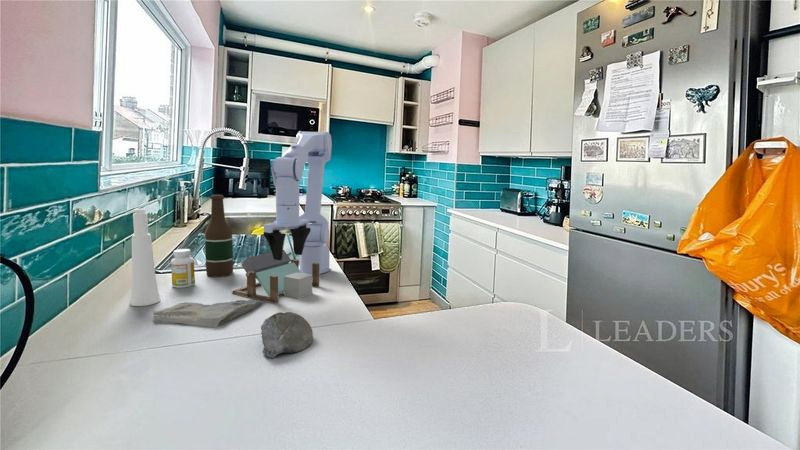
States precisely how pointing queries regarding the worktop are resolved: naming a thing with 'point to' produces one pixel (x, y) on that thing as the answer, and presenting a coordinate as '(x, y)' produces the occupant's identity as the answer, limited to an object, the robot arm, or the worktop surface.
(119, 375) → the worktop surface
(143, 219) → the cosmetic bottle
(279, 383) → the worktop surface
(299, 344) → the fossilized seashell
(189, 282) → the supplement bottle
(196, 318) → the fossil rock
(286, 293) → the stone block
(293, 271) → the trapdoor plate
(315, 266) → the walnut frame
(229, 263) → the beer bottle
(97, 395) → the worktop surface
